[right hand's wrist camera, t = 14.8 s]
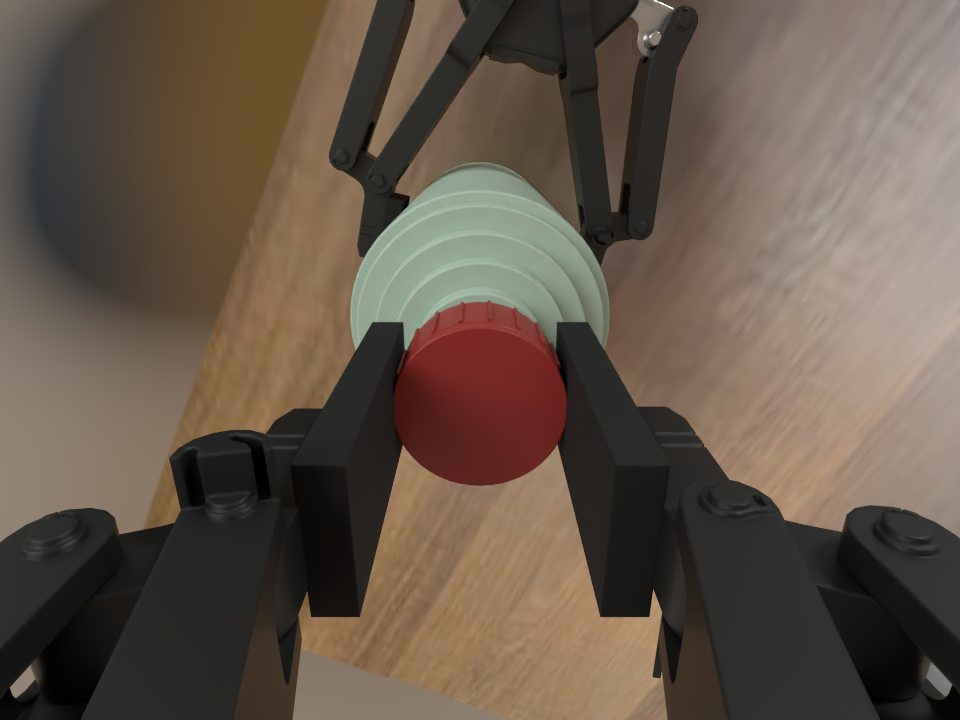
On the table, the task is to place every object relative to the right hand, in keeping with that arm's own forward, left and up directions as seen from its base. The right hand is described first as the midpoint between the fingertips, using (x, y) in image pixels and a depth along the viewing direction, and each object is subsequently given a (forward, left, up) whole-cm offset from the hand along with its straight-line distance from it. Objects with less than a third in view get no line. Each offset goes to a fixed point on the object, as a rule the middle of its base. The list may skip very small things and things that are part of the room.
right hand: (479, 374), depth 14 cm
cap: (0, 0, +2) cm, 2 cm away
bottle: (0, 0, -22) cm, 22 cm away
